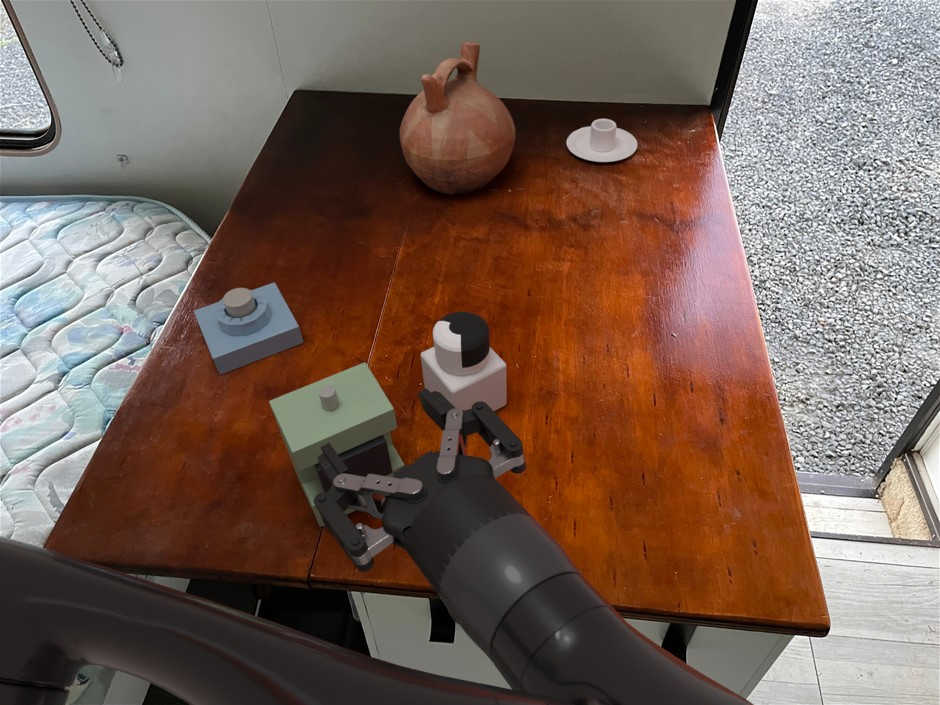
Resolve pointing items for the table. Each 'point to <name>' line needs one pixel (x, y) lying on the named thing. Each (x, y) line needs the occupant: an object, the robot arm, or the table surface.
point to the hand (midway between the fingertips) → (376, 424)
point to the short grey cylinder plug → (239, 302)
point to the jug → (457, 128)
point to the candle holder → (602, 142)
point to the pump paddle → (363, 461)
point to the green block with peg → (333, 422)
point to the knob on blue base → (249, 330)
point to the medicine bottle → (464, 363)
